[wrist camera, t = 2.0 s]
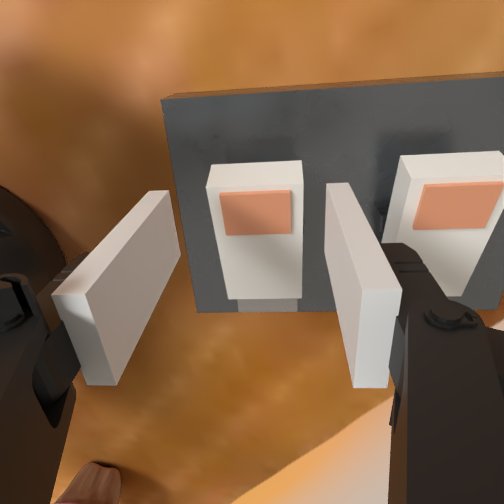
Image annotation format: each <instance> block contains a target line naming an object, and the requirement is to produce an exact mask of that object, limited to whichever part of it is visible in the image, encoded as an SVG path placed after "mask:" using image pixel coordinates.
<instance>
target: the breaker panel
mask: <svg viewBox="0 0 504 504" xmlns="http://www.w3.org/2000/svg"><path fill="white" fill-rule="evenodd" d="M161 105H162V111H163V117H164V123H165V128H166V134H167V140H168V146H169V151H170V157H171V163H172V169H173V174H174V180H175V186H176V192H177V198H178V203H179V209H180V215H181V221H182V226H183V232H184V238H185V244H186V249H187V255H188V261H189V267H190V273H191V278H192V284H193V290H194V296H195V301H196V307H197V313H207V312H311V311H337V309H336V304H335V299H334V295H333V290H332V285H331V281H330V276H329V271H328V267H327V262H326V257H325V252H324V244H325V212H326V183H349V185H350V187H351V189H352V191H353V193H354V195H355V197H356V199H357V201H358V203H359V205H360V207H361V209H362V211H363V213H364V215H365V217H366V219H367V221H368V223H369V225H370V226H371V228H372V230H373V232H374V234H375V236H376V238H377V240H378V242H379V243H381V242H382V238H383V233H384V228H385V224H386V219H387V215H388V210H389V205H390V201H391V196H392V191H393V187H394V182H395V177H396V173H397V168H398V163H399V159H400V156H401V155H422V154H443V153H463V152H484V151H500V152H501V153H502V154H503V155H504V71H502V72H487V73H472V74H458V75H443V76H428V77H413V78H398V79H383V80H369V81H354V82H339V83H324V84H309V85H295V86H280V87H265V88H250V89H235V90H221V91H206V92H191V93H176V94H173V95H170V96H168V97H165V98H163V99H161ZM298 160H302V171H303V182H304V190H303V253H302V298H290V299H228V295H227V290H226V285H225V281H224V276H223V271H222V266H221V261H220V256H219V251H218V246H217V241H216V236H215V231H214V226H213V221H212V216H211V211H210V206H209V201H208V196H207V191H206V185H207V181H208V177H209V173H210V169H211V165H215V164H235V163H256V162H277V161H298ZM503 290H504V209H503V211H502V213H501V215H500V217H499V219H498V221H497V223H496V225H495V227H494V229H493V232H492V234H491V236H490V238H489V240H488V242H487V244H486V246H485V248H484V250H483V252H482V254H481V256H480V258H479V261H478V263H477V265H476V267H475V269H474V271H473V273H472V275H471V277H470V279H469V281H468V283H467V285H466V287H465V289H464V292H463V294H462V296H447V298H448V299H449V300H452V301H456V302H459V303H461V304H463V305H465V306H467V307H469V308H471V309H472V310H497V309H498V306H499V302H500V299H501V296H502V293H503Z"/></svg>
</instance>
